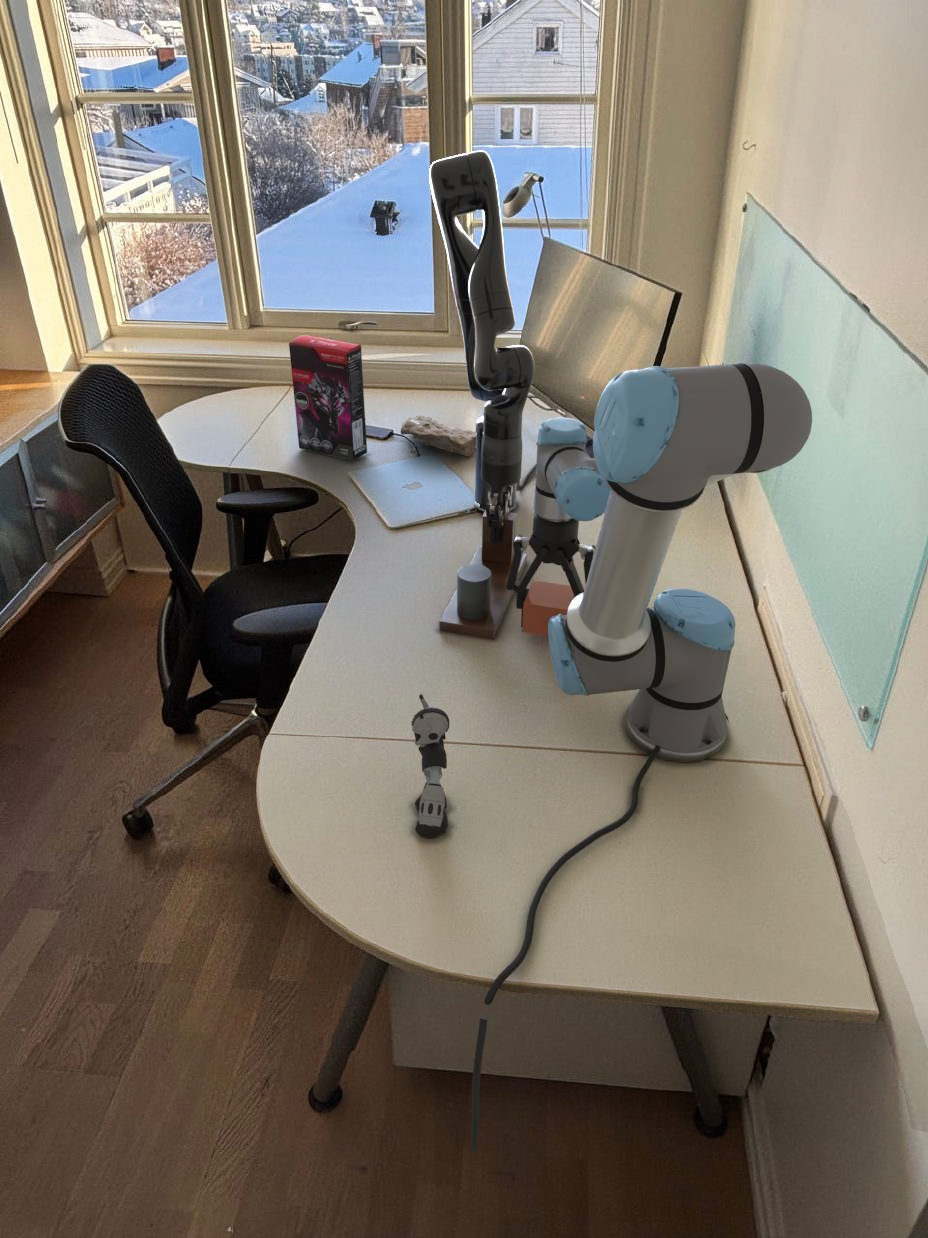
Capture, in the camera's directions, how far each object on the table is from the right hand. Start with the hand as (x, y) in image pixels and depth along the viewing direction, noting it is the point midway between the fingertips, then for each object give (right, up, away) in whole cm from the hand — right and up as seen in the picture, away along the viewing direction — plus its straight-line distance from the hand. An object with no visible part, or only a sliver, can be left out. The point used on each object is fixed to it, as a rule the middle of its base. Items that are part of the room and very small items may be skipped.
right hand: (548, 626), depth 164 cm
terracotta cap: (0, +1, 0) cm, 1 cm away
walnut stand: (-11, +6, +12) cm, 17 cm away
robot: (-19, -26, -36) cm, 49 cm away
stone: (-22, +45, +70) cm, 86 cm away
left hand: (-8, +17, +16) cm, 25 cm away
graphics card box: (-48, +43, +67) cm, 93 cm away
